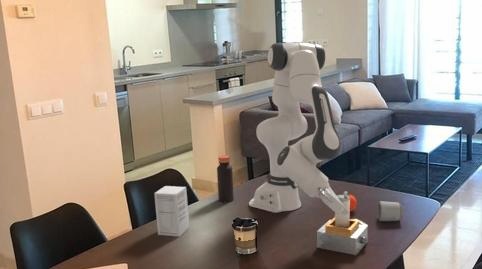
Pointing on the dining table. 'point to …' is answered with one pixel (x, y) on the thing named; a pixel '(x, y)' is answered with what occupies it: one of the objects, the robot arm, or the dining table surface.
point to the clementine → (352, 202)
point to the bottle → (225, 179)
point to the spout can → (340, 218)
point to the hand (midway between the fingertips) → (344, 209)
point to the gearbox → (342, 237)
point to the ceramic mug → (389, 211)
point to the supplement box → (172, 211)
